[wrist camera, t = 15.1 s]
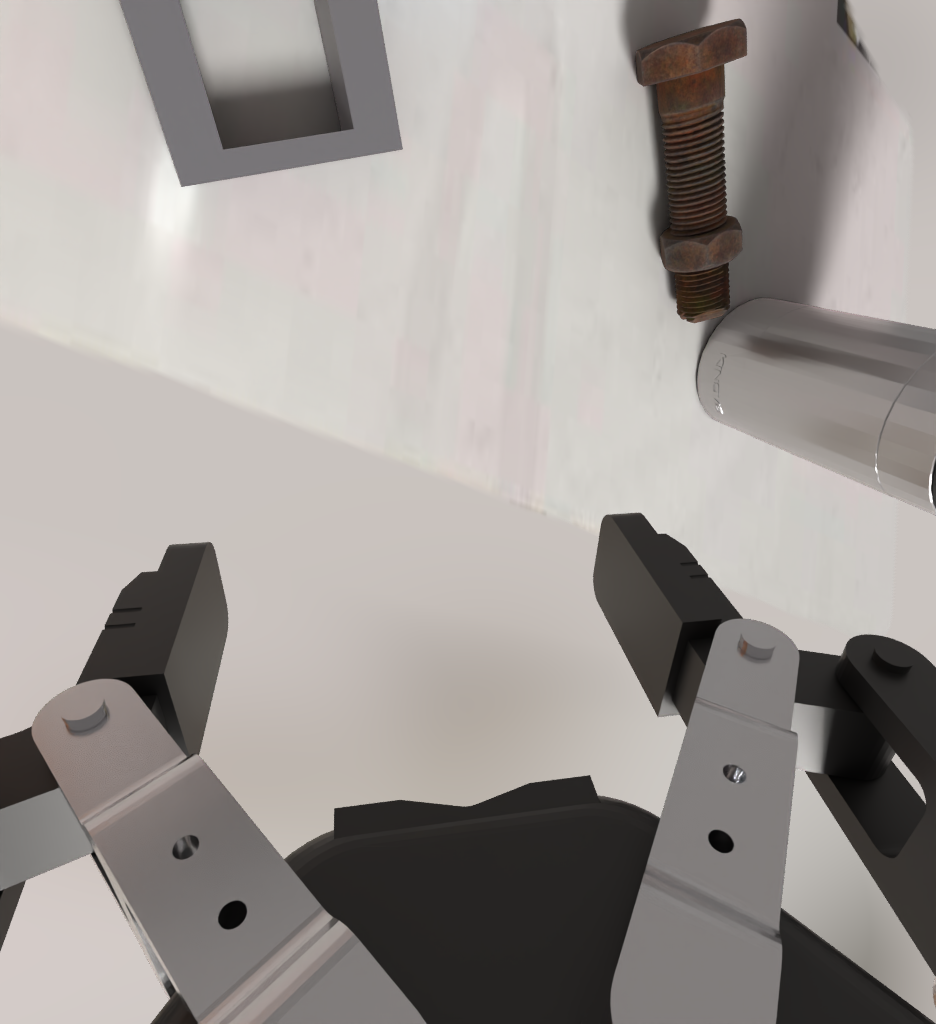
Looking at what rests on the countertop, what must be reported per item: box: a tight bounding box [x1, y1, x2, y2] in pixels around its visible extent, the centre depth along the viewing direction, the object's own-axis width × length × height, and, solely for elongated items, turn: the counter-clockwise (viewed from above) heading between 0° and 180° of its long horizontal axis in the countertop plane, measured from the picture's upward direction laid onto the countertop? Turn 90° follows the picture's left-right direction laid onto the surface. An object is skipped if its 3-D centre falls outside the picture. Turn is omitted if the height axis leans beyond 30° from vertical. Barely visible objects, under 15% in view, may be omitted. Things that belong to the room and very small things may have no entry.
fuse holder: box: [119, 0, 403, 187], centre depth 28 cm, size 10×8×2 cm
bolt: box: [635, 19, 747, 323], centre depth 37 cm, size 6×5×15 cm
